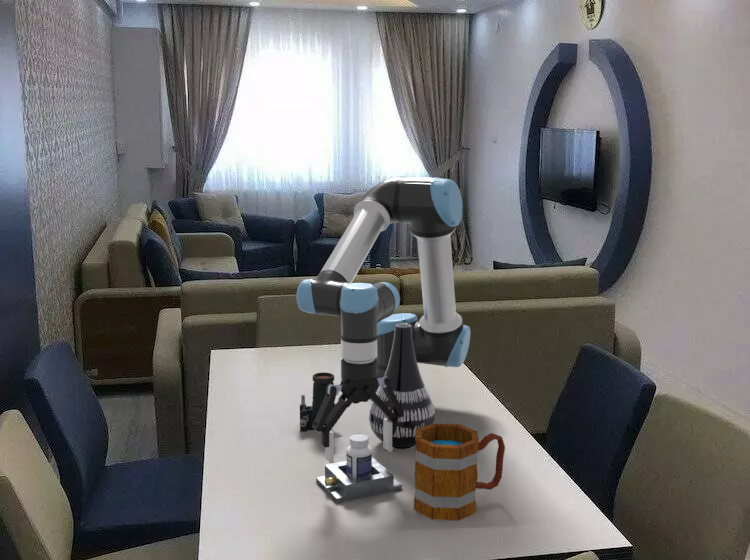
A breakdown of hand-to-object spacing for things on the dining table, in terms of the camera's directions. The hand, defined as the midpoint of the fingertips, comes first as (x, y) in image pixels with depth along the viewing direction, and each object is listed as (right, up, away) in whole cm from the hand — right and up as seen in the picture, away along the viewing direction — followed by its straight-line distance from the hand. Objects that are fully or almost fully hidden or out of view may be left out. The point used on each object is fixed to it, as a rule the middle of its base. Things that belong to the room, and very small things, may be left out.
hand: (359, 454), depth 169 cm
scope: (-11, -1, +33) cm, 35 cm away
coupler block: (0, -7, +1) cm, 7 cm away
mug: (+20, -9, -6) cm, 23 cm away
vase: (+10, -3, +24) cm, 26 cm away
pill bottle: (0, -6, +1) cm, 6 cm away
